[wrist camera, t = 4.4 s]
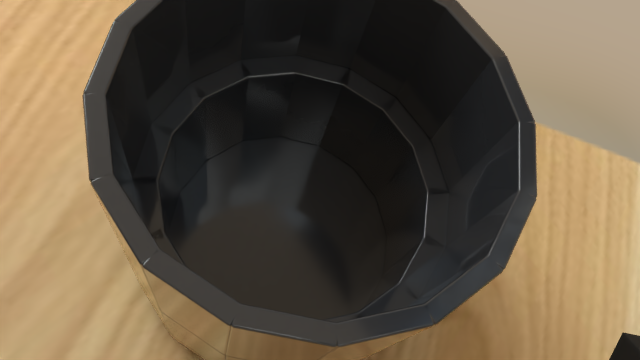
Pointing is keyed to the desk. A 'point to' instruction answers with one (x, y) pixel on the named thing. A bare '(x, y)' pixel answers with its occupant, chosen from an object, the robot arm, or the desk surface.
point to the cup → (308, 168)
